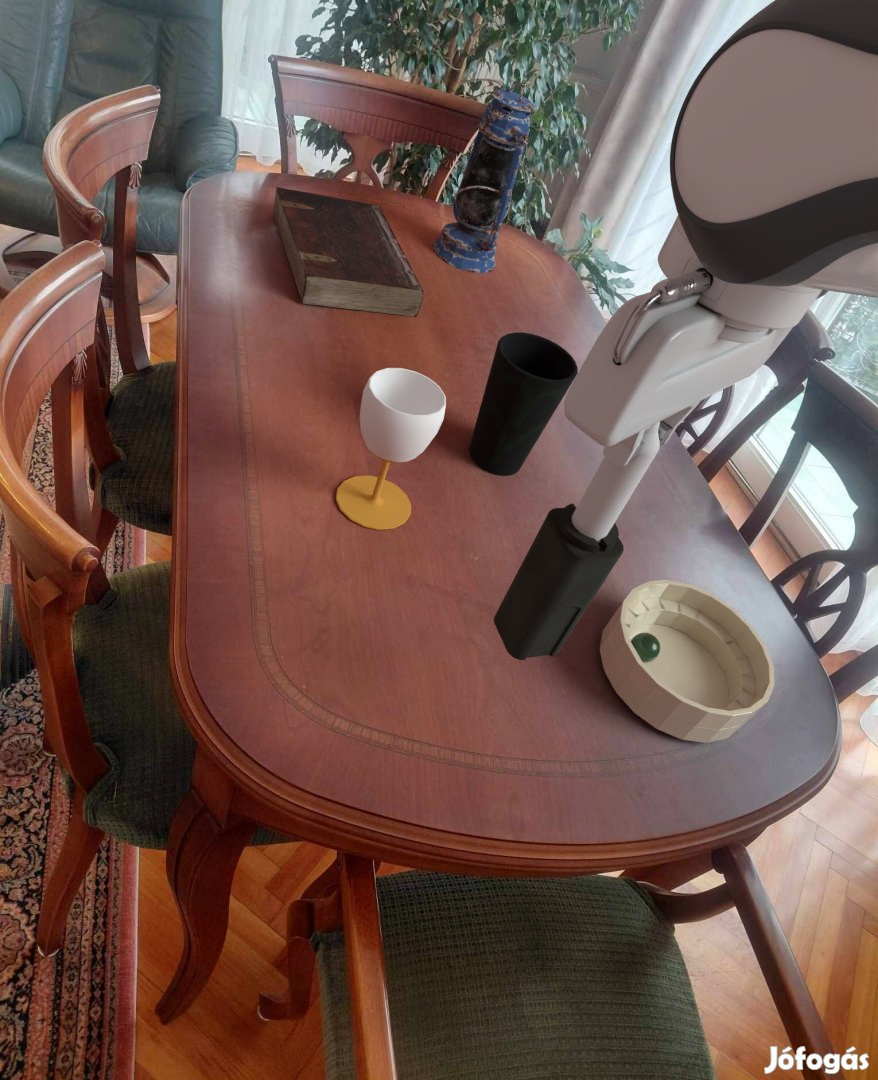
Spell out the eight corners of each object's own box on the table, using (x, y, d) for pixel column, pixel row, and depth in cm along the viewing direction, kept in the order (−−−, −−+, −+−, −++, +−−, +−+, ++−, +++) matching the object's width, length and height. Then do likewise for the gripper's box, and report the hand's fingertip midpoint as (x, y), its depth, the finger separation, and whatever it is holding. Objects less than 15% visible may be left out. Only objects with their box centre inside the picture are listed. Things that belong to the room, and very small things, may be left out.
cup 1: (417, 532, 90) (457, 423, 79) (339, 528, 87) (371, 413, 76) (404, 479, 96) (440, 371, 85) (331, 473, 93) (359, 360, 82)
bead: (650, 672, 84) (664, 655, 82) (623, 661, 84) (636, 643, 82) (652, 651, 86) (666, 633, 84) (626, 639, 86) (639, 622, 84)
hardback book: (417, 317, 125) (425, 288, 122) (301, 305, 118) (307, 275, 114) (375, 230, 143) (381, 203, 140) (272, 215, 136) (276, 187, 132)
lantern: (510, 278, 145) (574, 107, 125) (454, 276, 139) (511, 96, 119) (473, 236, 154) (527, 70, 133) (418, 233, 148) (466, 58, 127)
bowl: (744, 772, 79) (777, 742, 75) (586, 704, 79) (611, 671, 75) (742, 650, 92) (771, 618, 88) (607, 592, 92) (629, 558, 88)
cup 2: (492, 491, 99) (538, 388, 88) (443, 442, 104) (481, 338, 93) (545, 471, 105) (594, 373, 95) (497, 426, 110) (538, 327, 99)
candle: (511, 662, 64) (651, 422, 47) (489, 613, 67) (613, 372, 50) (563, 655, 66) (715, 423, 49) (539, 608, 69) (674, 375, 53)
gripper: (701, 322, 36) (581, 532, 45) (854, 266, 49) (737, 437, 58) (598, 254, 38) (504, 466, 47) (770, 217, 51) (670, 389, 61)
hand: (633, 450), depth 53 cm, fingers closed on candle, 3 cm apart
